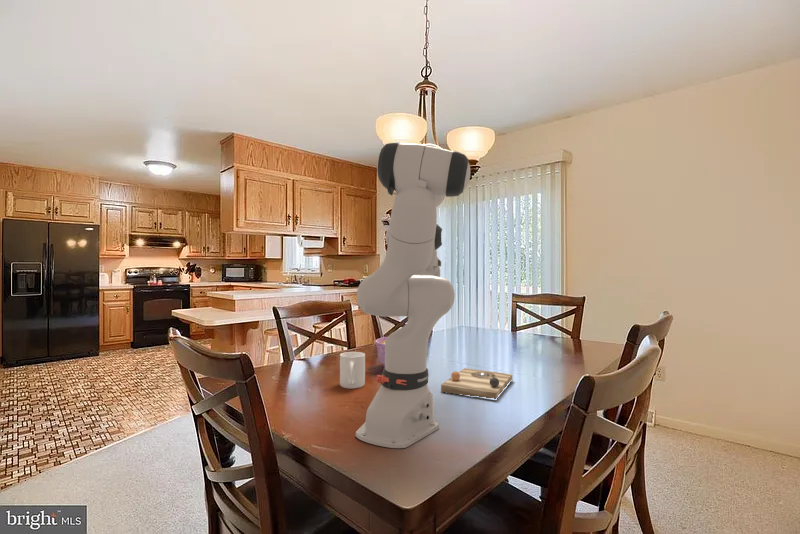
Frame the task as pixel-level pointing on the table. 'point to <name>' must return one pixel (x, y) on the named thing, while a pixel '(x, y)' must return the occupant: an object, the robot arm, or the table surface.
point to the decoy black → (494, 382)
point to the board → (476, 383)
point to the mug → (352, 370)
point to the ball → (483, 374)
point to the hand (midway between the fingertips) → (424, 300)
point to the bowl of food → (381, 349)
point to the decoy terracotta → (455, 375)
